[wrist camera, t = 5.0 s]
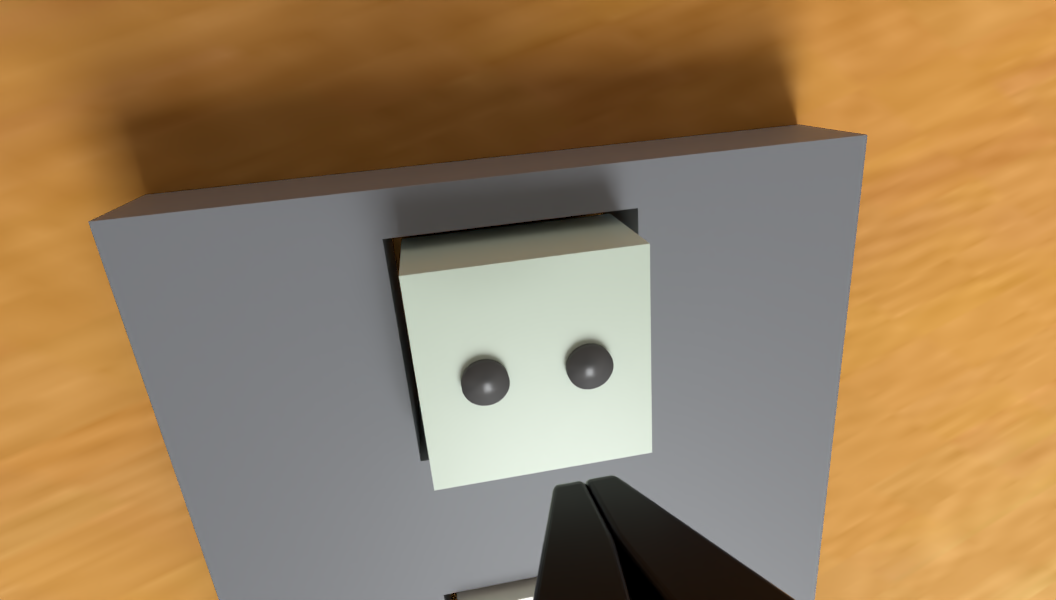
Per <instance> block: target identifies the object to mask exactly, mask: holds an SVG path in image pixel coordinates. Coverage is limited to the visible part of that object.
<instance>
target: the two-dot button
mask: <svg viewBox="0 0 1056 600" xmlns="http://www.w3.org/2000/svg"><path fill="white" fill-rule="evenodd" d="M399 280H400V286H401V292H402V298H403V304H404V310H405V316H406V323H407V329H408V335H409V341H410V347H411V353H412V359H413V365H414V371H415V377H416V383H417V389H418V395H419V401H420V407H421V413H422V419H423V425H424V431H425V437H426V443H427V449H428V455H429V461H430V467H431V473H432V479H433V485H434V491H435V490H441V489H446V488H452V487H458V486H464V485H469V484H475V483H481V482H487V481H492V480H498V479H504V478H509V477H515V476H521V475H527V474H532V473H538V472H544V471H550V470H555V469H561V468H567V467H572V466H578V465H584V464H590V463H595V462H601V461H607V460H613V459H618V458H624V457H630V456H636V455H641V454H647V453H652V394H651V299H650V243H648V242H647V241H646V240H644V239H643V238H642V237H640V236H639V235H638V234H636V233H635V232H634V231H632V230H631V229H630V228H628V227H627V226H626V225H624V224H623V223H622V222H621V221H619V220H618V219H617V218H615V217H614V216H613V215H611V214H602V215H594V216H586V217H577V218H569V219H561V220H553V221H545V222H537V223H528V224H520V225H512V226H504V227H496V228H487V229H479V230H471V231H463V232H455V233H446V234H438V235H430V236H422V237H414V238H406V239H402V241H401V254H400V267H399Z"/></svg>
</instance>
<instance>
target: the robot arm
mask: <svg viewBox="0 0 1056 600" xmlns="http://www.w3.org/2000/svg"><path fill="white" fill-rule="evenodd" d="M533 600H795V599H794V598H792V597H791V596H789V595H788V594H786V593H785V592H784V591H782V590H781V589H779V588H778V587H776V586H775V585H773V584H772V583H771V582H769V581H768V580H766V579H765V578H763V577H762V576H760V575H759V574H758V573H756V572H755V571H753V570H752V569H750V568H749V567H747V566H746V565H745V564H743V563H742V562H740V561H739V560H737V559H736V558H734V557H733V556H731V555H730V554H729V553H727V552H726V551H724V550H723V549H721V548H720V547H718V546H717V545H716V544H714V543H713V542H711V541H710V540H708V539H707V538H705V537H704V536H703V535H701V534H700V533H698V532H697V531H695V530H694V529H692V528H691V527H690V526H688V525H687V524H685V523H684V522H682V521H681V520H679V519H678V518H676V517H675V516H674V515H672V514H671V513H669V512H668V511H666V510H665V509H663V508H662V507H661V506H659V505H658V504H656V503H655V502H653V501H652V500H650V499H649V498H648V497H646V496H645V495H643V494H642V493H640V492H639V491H637V490H636V489H635V488H633V487H632V486H630V485H629V484H627V483H626V482H624V481H623V480H621V479H620V478H619V477H617V476H614V475H609V476H603V477H598V478H592V479H588V480H587V481H586V483H584V482H581V481H576V482H570V483H564V484H559V485H556V486H555V487H554V488H553V492H552V498H551V503H550V509H549V514H548V520H547V525H546V531H545V536H544V542H543V547H542V553H541V558H540V564H539V569H538V575H537V580H536V586H535V591H534V597H533Z"/></svg>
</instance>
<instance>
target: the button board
mask: <svg viewBox="0 0 1056 600" xmlns="http://www.w3.org/2000/svg"><path fill="white" fill-rule="evenodd" d="M866 143H867V135H865V134H858V133H852V132H845V131H838V130H832V129H825V128H819V127H812V126H805V125H799V124H798V125H789V126H780V127H771V128H761V129H752V130H743V131H733V132H724V133H715V134H705V135H696V136H687V137H677V138H668V139H659V140H650V141H640V142H631V143H622V144H612V145H603V146H594V147H584V148H575V149H566V150H557V151H547V152H538V153H529V154H519V155H510V156H501V157H491V158H482V159H473V160H464V161H454V162H445V163H436V164H426V165H417V166H408V167H398V168H389V169H380V170H370V171H361V172H352V173H343V174H333V175H324V176H315V177H305V178H296V179H287V180H277V181H268V182H259V183H250V184H240V185H231V186H222V187H212V188H203V189H194V190H184V191H175V192H166V193H157V194H147V195H144V196H141V197H139V198H137V199H135V200H133V201H131V202H129V203H127V204H125V205H122V206H120V207H118V208H116V209H114V210H112V211H110V212H108V213H106V214H104V215H101V216H99V217H97V218H95V219H93V220H91V221H89V225H90V228H91V231H92V234H93V237H94V240H95V242H96V245H97V248H98V251H99V254H100V257H101V260H102V263H103V266H104V268H105V271H106V274H107V277H108V280H109V283H110V286H111V289H112V292H113V295H114V297H115V300H116V303H117V306H118V309H119V312H120V315H121V318H122V321H123V323H124V326H125V329H126V332H127V335H128V338H129V341H130V344H131V347H132V349H133V352H134V355H135V358H136V361H137V364H138V367H139V370H140V373H141V375H142V378H143V381H144V384H145V387H146V390H147V393H148V396H149V399H150V402H151V404H152V407H153V410H154V413H155V416H156V419H157V422H158V425H159V428H160V430H161V433H162V436H163V439H164V442H165V445H166V448H167V451H168V454H169V456H170V459H171V462H172V465H173V468H174V471H175V474H176V477H177V480H178V482H179V485H180V488H181V491H182V494H183V497H184V500H185V503H186V506H187V509H188V511H189V514H190V517H191V520H192V523H193V526H194V529H195V532H196V535H197V537H198V540H199V543H200V546H201V549H202V552H203V555H204V558H205V561H206V563H207V566H208V569H209V572H210V575H211V578H212V581H213V584H214V587H215V589H216V592H217V595H218V598H219V600H452V596H451V593H456V592H461V591H466V590H471V589H476V588H482V587H487V586H492V585H497V584H502V583H507V582H512V581H517V580H522V579H527V578H532V577H537V575H538V569H539V564H540V558H541V553H542V547H543V542H544V536H545V531H546V525H547V520H548V514H549V509H550V503H551V498H552V492H553V488H554V487H555V486H556V485H559V484H564V483H570V482H576V481H581V482H584V483H586V481H587V480H588V479H592V478H598V477H603V476H609V475H614V476H617V477H619V478H620V479H621V480H623V481H624V482H626V483H627V484H629V485H630V486H632V487H633V488H635V489H636V490H637V491H639V492H640V493H642V494H643V495H645V496H646V497H648V498H649V499H650V500H652V501H653V502H655V503H656V504H658V505H659V506H661V507H662V508H663V509H665V510H666V511H668V512H669V513H671V514H672V515H674V516H675V517H676V518H678V519H679V520H681V521H682V522H684V523H685V524H687V525H688V526H690V527H691V528H692V529H694V530H695V531H697V532H698V533H700V534H701V535H703V536H704V537H705V538H707V539H708V540H710V541H711V542H713V543H714V544H716V545H717V546H718V547H720V548H721V549H723V550H724V551H726V552H727V553H729V554H730V555H731V556H733V557H734V558H736V559H737V560H739V561H740V562H742V563H743V564H745V565H746V566H747V567H749V568H750V569H752V570H753V571H755V572H756V573H758V574H759V575H760V576H762V577H763V578H765V579H766V580H768V581H769V582H771V583H772V584H773V585H775V586H776V587H778V588H779V589H781V590H782V591H784V592H785V593H786V594H788V595H789V596H791V597H792V598H794V599H795V600H815V591H816V583H817V574H818V565H819V556H820V547H821V539H822V530H823V521H824V512H825V503H826V495H827V486H828V477H829V468H830V459H831V451H832V442H833V433H834V424H835V415H836V407H837V398H838V389H839V380H840V371H841V363H842V354H843V345H844V336H845V327H846V319H847V310H848V301H849V292H850V283H851V275H852V266H853V257H854V248H855V239H856V231H857V222H858V213H859V204H860V195H861V187H862V178H863V169H864V160H865V151H866ZM601 212H604V214H611V215H613V216H614V217H615V218H617V219H618V220H619V221H621V222H622V223H623V224H624V225H626V226H627V227H628V228H630V229H631V230H632V231H634V232H635V233H636V234H638V235H639V236H640V237H642V238H643V239H644V240H646V241H647V242H648V243H650V299H651V394H652V453H647V454H641V455H636V456H630V457H624V458H618V459H613V460H607V461H601V462H595V463H590V464H584V465H578V466H572V467H567V468H561V469H555V470H550V471H544V472H538V473H532V474H527V475H521V476H515V477H509V478H504V479H498V480H492V481H487V482H481V483H475V484H469V485H464V486H458V487H452V488H446V489H441V490H435V491H434V485H433V479H432V473H431V467H430V461H429V455H428V449H427V443H426V437H425V431H424V425H423V419H422V413H421V407H420V403H419V397H418V391H417V385H416V379H415V373H414V367H413V361H412V355H411V349H410V343H409V337H408V331H407V325H406V319H405V313H404V307H403V301H402V295H401V289H400V283H399V277H398V271H397V265H396V259H395V253H394V247H393V241H392V238H396V237H404V236H412V235H421V234H429V233H437V232H445V231H453V230H462V229H470V228H478V227H486V226H494V225H503V224H511V223H519V222H527V221H536V220H544V219H552V218H560V217H568V216H577V215H585V214H593V213H601Z"/></svg>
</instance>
